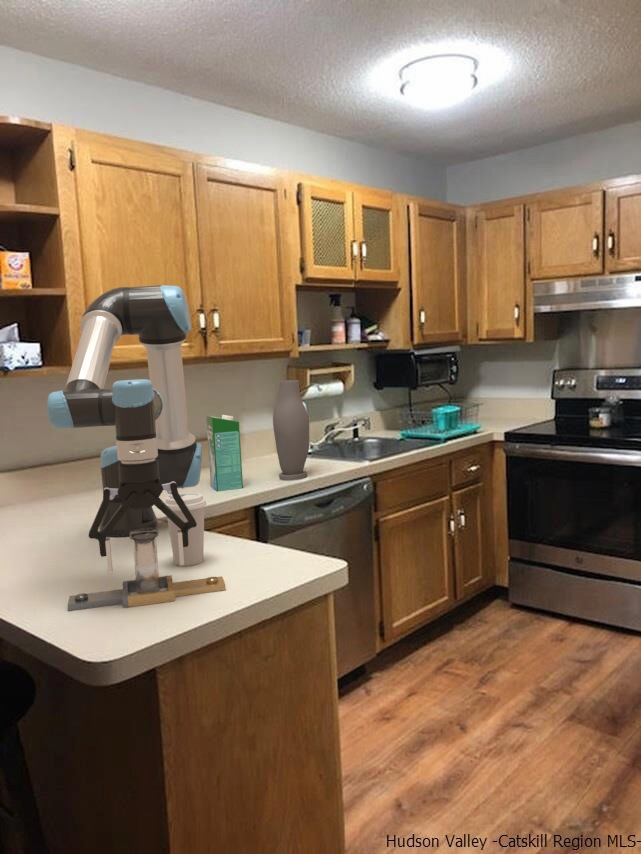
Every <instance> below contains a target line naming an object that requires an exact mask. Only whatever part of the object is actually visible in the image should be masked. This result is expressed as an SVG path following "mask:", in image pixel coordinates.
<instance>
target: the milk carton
mask: <svg viewBox="0 0 641 854" xmlns="http://www.w3.org/2000/svg"><path fill="white" fill-rule="evenodd" d="M206 429H207V431H206V432H207V443H208V458H209V459H208V460H209V477H210V487H212V489H214V490H215V491H216V492H221V491H229V490H238V489H243V488H244V484H243V483H244V482H243V468H242V467H243V466H242V449H241V448H242V447H241V433H240V422H239V421H238V420H235V419H234V416H233V415H225V414H221V417H219V416H214V415H208V414H207V415H206Z"/></svg>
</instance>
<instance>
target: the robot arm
mask: <svg viewBox="0 0 641 854" xmlns="http://www.w3.org/2000/svg"><path fill="white" fill-rule="evenodd" d="M188 304H189V303H188V301H187V298H186V294H185V292H184V290H183V289H182V288H181V287H180V286H178V285H165V284H161V285H160V284H159V285H143V286H129V287H126V286H121V287H115V288H112V289H110V290H107V291H105V292H104V293H102V294H101V295H99V296H98V297H97V298H95V299H94V300H93V301H92V302H91V303H90V304H89V305H88V306H87V308H86V309H85V310H84V313H83V315H82V317H81V320H80V323H79V329H80V333H81V335H80V338H79V341H78V345H77V348H76V351H75V352H76V353H75V355H74V358H73V362H72V365H71V368H70V372H69V374H68V377H67V381H66V384H65V388H64V390H62V389H61V390H58V391H52V392H50V393H49V394H48V397H47V401H46V412H47V417H48V420H49V423H50V425H51V426H52V427H54V428H58V429H59V428H60V429H69V428H70V429H78V428H79V429H81V428H92V427H105V426H106V427H112V426H113V427H114V426H115V427H114V428H115V438H116V439H115V442H116V443H115V445H113V446H109V447H107V448H104V449H103V450H102V451H101V453H100V466H99V467H100V470H101V471H100V472H101V483H102V501H101V503H100V505H99V508H98V511H97V512H96V516H95V518H94V520H93V522H92V524H91V527H90V529H89V532H88V538H89V539H91V540H92V539H95V540H96V541H98V543H99V545H98V547H99V556H100V557H101V558H102V557H103V558H104V557H106V564H107V565H106V566H107V575H112V574H113V569H114V568H113V560H112V548H111V537H128V536H129V537H130V532H131V531H133V530H135V529H140V528H156V529H158V528H157V527H158V518H157V515H156V513H155V511H154V508H153V506H155V508H157V509H158V510H160V511H161V512H162V513H163V514H164V515H165V516H166V518H167V517H168V518H169V519H170V520H171V521H172V522H173V523H174V524H175V525H177V526H178V527H179V528H180V529H179V530H177V534H178V548H179V562H180V565H184V554H183V547H188V545H189V542H188V530H189V529H191V528H193V527H196V525H197V523H196V521H195V519H194V517H193V516H192V514H191V512H190V511H189V509H188V508H187V506H186V504H185V503H184V501H183V499H182V498H181V496H180V495H179V494H180V493H179V490H178V489H182V490H183V489H186V488H194V487H196V486H197V485H199V483H200V479H201V473H202V472H201V471H202V457H203V445H202V443H199V442H197V440H196V437H195V435H194V434H193V433H191V432H190V429H189V426H190V425H189V418H188V408H187V397H186V388H185V387H186V386H185V375H184V365H183V364H184V363H183V356H182V355H183V353H182V345H183V344H184V343H185V341H186V340H187V334H188V333H190V332H191V331H192V322H191V321H192V320H191V315H190V313H191V312H190V309H189V305H188ZM129 335H131V336H132V335H133V336H134V335H135V336H136V335H137V336H138V342H139V344H140V345H141V346H142V347H144V348H146V349H145V350H146V358H147V366H148V375H149V379H148V378H146V379H145V378H144V379H142V378H139V379H126V380H117V381H115V382H114V383H113V384H112V386H111V387H112V388H105V384H106V382H107V377H108V372H109V368H110V364H111V359H112V356H113V353H114V347H115V344H116V343H117V342H118V341H119V339H120V338H121V336H129ZM164 491H166V494H168V495H172V496H173V498H174V500H175V501H176V503H177V505H178V506H179V508H180V509H181V511H182V513H183V514H184V516H185V517H186V519H187V522H184V521H183V520H182V519H180V518H179V517H178V516H177V515H176V514H175V513H174V512H173V511H172V510H171V509H170V508H169V507H168V506H167V505H166V504H165V501H163V499H161V498H160V496H161V494H162V493H163V492H164Z"/></svg>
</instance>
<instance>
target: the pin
mask: <svg viewBox="0 0 641 854" xmlns="http://www.w3.org/2000/svg"><path fill="white" fill-rule="evenodd" d="M158 536H159V529H158V528H140V529H135V530H133V531H131V532H130V536H129V539H130V540H132V547H133V548H132V549H133V560H134V572H135V580H136V588H137V591H136V594H140V593H148V592H155V591H161V588H160V584H159V577H160V574H159V573H160V572H159V559H158V547H157V546H158V545H157V537H158Z"/></svg>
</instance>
